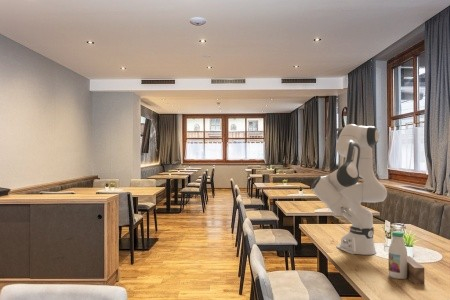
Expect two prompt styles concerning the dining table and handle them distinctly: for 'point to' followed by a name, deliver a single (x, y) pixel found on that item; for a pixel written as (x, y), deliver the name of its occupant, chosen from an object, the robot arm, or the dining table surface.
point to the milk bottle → (397, 257)
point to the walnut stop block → (415, 271)
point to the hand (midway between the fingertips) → (361, 227)
